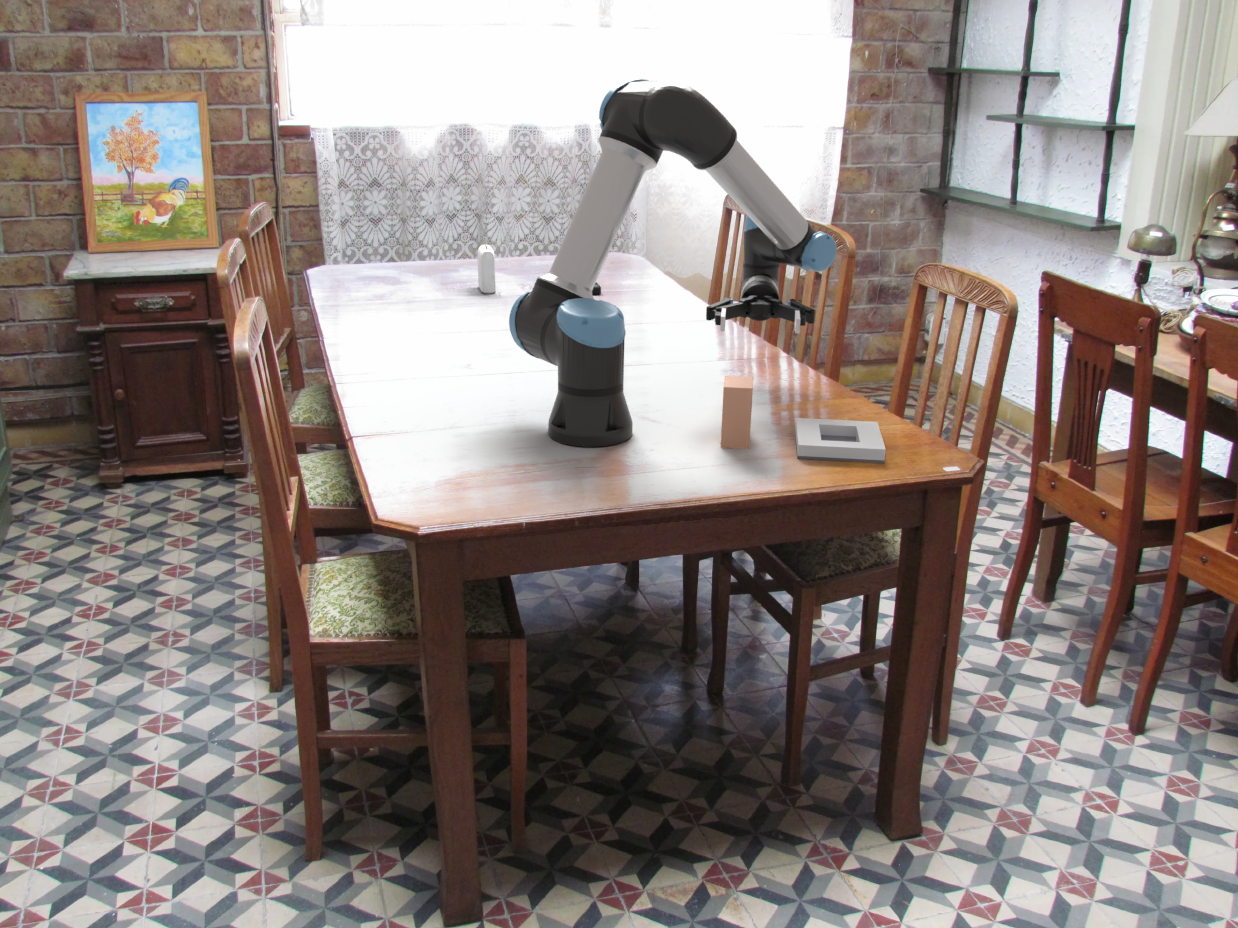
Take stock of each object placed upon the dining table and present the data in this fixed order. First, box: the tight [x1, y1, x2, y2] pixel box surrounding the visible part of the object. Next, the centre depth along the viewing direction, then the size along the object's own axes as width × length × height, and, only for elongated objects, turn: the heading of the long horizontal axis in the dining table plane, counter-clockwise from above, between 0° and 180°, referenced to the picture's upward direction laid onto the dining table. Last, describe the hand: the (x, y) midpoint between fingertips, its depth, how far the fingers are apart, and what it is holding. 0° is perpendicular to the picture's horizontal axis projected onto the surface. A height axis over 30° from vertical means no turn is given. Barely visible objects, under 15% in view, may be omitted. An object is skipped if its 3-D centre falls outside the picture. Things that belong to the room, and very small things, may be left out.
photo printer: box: [476, 244, 496, 294], centre depth 314 cm, size 10×4×12 cm, turn 13°
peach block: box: [720, 375, 754, 450], centre depth 200 cm, size 5×7×11 cm
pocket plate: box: [794, 417, 887, 464], centre depth 200 cm, size 15×15×2 cm
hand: (760, 325), depth 207 cm, fingers open, 13 cm apart
